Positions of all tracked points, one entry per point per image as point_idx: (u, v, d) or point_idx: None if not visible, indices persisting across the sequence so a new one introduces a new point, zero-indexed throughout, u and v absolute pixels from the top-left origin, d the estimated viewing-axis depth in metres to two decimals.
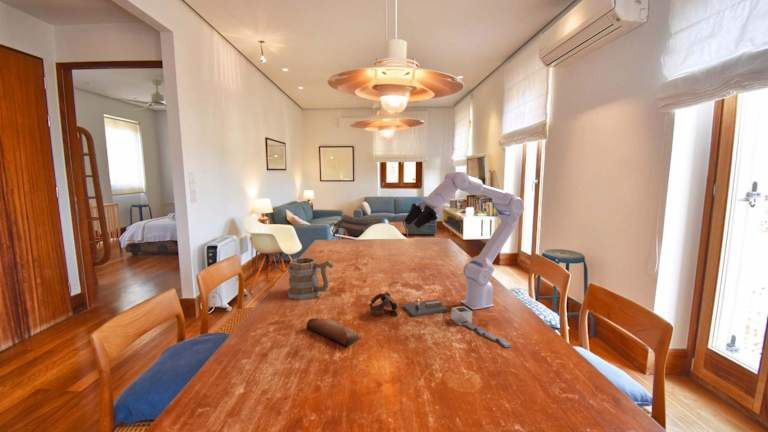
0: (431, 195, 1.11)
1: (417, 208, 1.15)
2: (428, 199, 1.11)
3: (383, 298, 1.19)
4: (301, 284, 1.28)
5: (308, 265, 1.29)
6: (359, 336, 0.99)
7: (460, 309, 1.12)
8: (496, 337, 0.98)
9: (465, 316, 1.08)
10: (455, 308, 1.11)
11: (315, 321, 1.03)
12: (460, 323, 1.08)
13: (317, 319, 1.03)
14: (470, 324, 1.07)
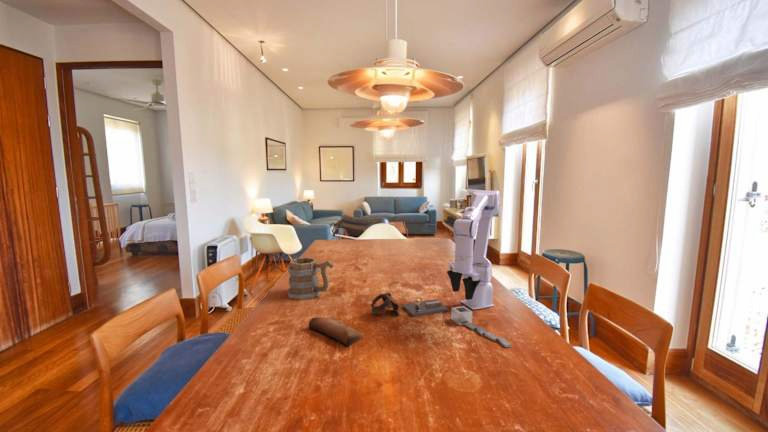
0: (458, 262, 1.06)
1: (454, 273, 1.12)
2: (458, 268, 1.06)
3: (384, 298, 1.19)
4: (301, 284, 1.28)
5: (308, 265, 1.29)
6: (360, 335, 0.99)
7: (460, 309, 1.12)
8: (496, 337, 0.98)
9: (465, 316, 1.08)
10: (455, 308, 1.11)
11: (317, 320, 1.04)
12: (460, 323, 1.08)
13: (319, 318, 1.04)
14: (470, 324, 1.07)
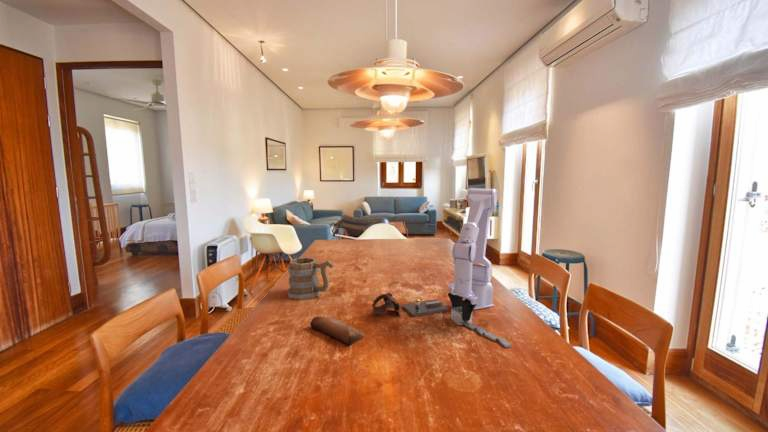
0: (457, 285, 1.07)
1: (455, 296, 1.12)
2: (458, 291, 1.07)
3: (385, 298, 1.18)
4: (301, 284, 1.28)
5: (308, 265, 1.29)
6: (362, 335, 0.99)
7: (460, 309, 1.12)
8: (496, 337, 0.98)
9: None
10: (455, 308, 1.11)
11: (318, 320, 1.04)
12: (460, 323, 1.08)
13: (321, 317, 1.05)
14: (470, 324, 1.07)
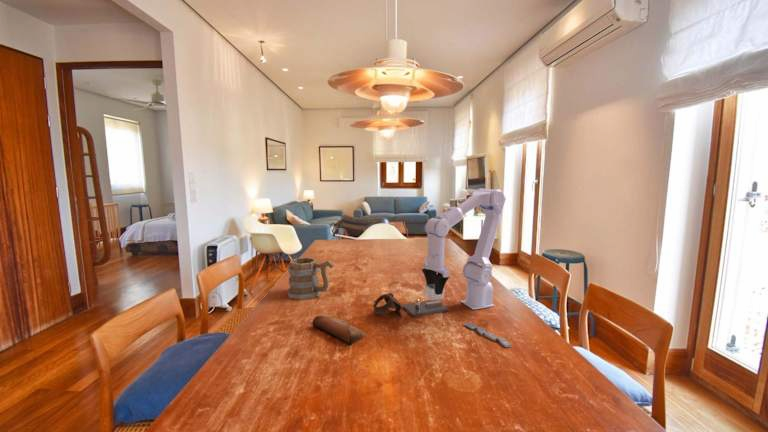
0: (430, 259, 1.12)
1: (429, 271, 1.16)
2: (430, 265, 1.12)
3: (387, 299, 1.18)
4: (301, 284, 1.28)
5: (308, 265, 1.29)
6: (363, 334, 1.00)
7: (433, 286, 1.16)
8: (496, 337, 0.98)
9: None
10: (428, 285, 1.16)
11: (320, 319, 1.05)
12: (432, 298, 1.12)
13: (323, 317, 1.05)
14: (470, 324, 1.07)
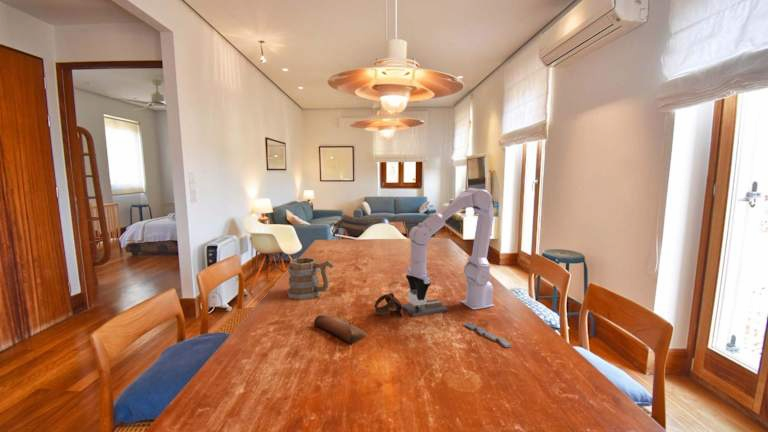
0: (412, 266, 1.16)
1: (412, 277, 1.20)
2: (413, 272, 1.16)
3: (388, 299, 1.18)
4: (301, 284, 1.28)
5: (308, 265, 1.29)
6: (364, 334, 1.00)
7: None
8: (496, 337, 0.98)
9: None
10: (412, 290, 1.20)
11: (322, 318, 1.05)
12: (415, 304, 1.16)
13: (324, 316, 1.06)
14: (470, 324, 1.07)
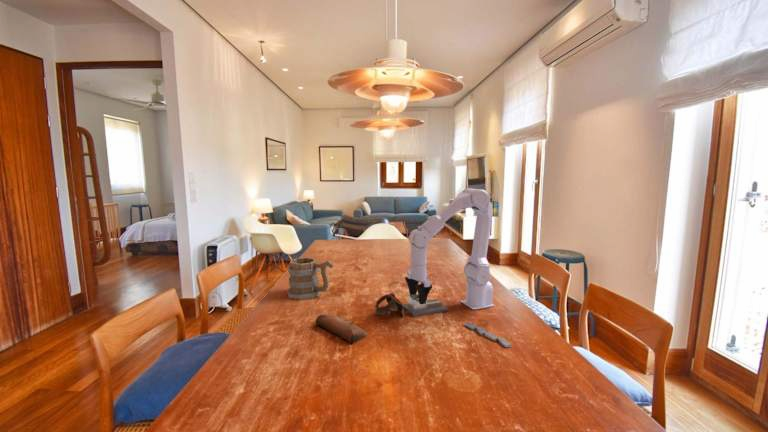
0: (412, 269, 1.16)
1: (411, 279, 1.21)
2: (413, 275, 1.16)
3: (388, 299, 1.18)
4: (301, 284, 1.28)
5: (308, 265, 1.29)
6: (365, 334, 1.00)
7: (416, 296, 1.21)
8: (496, 337, 0.98)
9: None
10: (412, 295, 1.20)
11: (323, 318, 1.06)
12: (415, 309, 1.16)
13: (326, 315, 1.06)
14: (470, 324, 1.07)
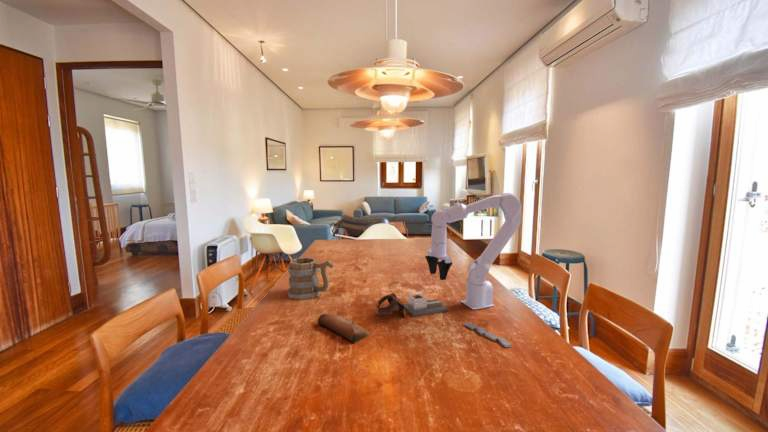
0: (433, 247, 1.23)
1: (431, 258, 1.29)
2: (434, 252, 1.23)
3: (390, 299, 1.18)
4: (301, 284, 1.28)
5: (308, 265, 1.29)
6: (367, 333, 1.01)
7: (416, 296, 1.21)
8: (496, 337, 0.98)
9: (420, 302, 1.17)
10: (412, 295, 1.20)
11: (325, 317, 1.06)
12: (415, 309, 1.16)
13: (328, 315, 1.07)
14: (470, 324, 1.07)
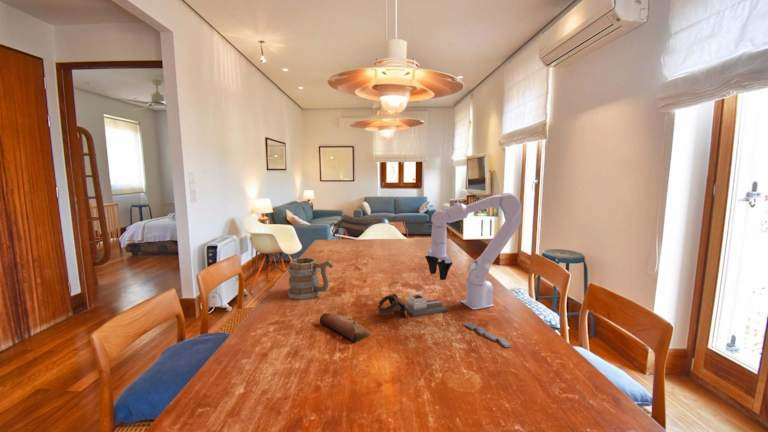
0: (433, 247, 1.23)
1: (431, 258, 1.29)
2: (434, 252, 1.23)
3: (391, 300, 1.18)
4: (301, 284, 1.28)
5: (308, 265, 1.29)
6: (368, 333, 1.01)
7: (416, 296, 1.21)
8: (496, 337, 0.98)
9: (420, 302, 1.17)
10: (412, 295, 1.20)
11: (327, 316, 1.07)
12: (415, 309, 1.16)
13: (329, 314, 1.07)
14: (470, 324, 1.07)
